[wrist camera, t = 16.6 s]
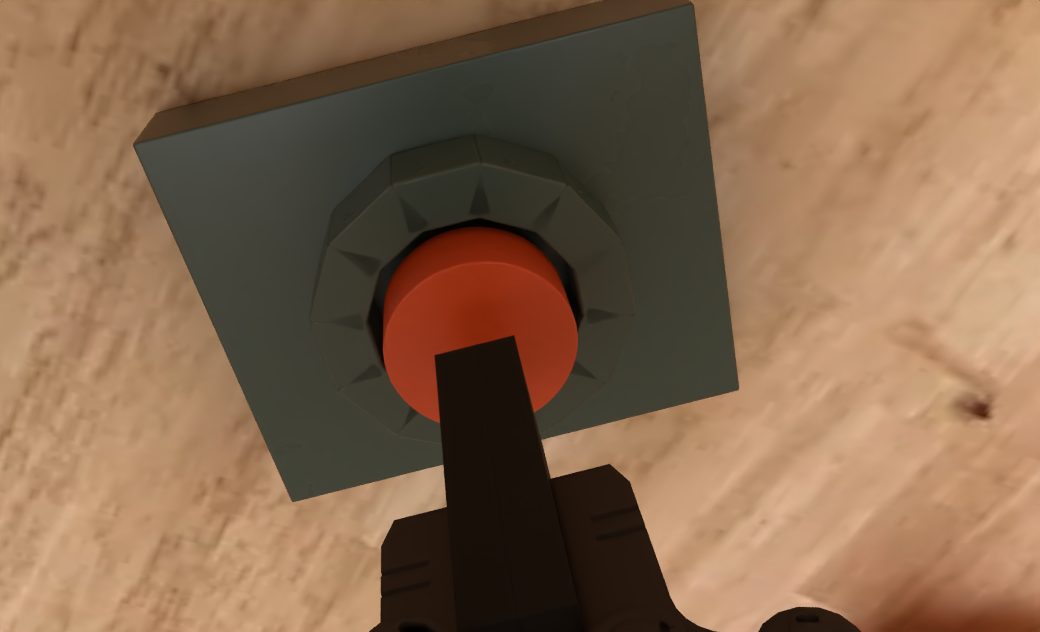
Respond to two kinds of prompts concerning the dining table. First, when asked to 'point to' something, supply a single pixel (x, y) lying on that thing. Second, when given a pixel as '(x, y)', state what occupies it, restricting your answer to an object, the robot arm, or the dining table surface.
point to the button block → (454, 223)
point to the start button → (476, 312)
